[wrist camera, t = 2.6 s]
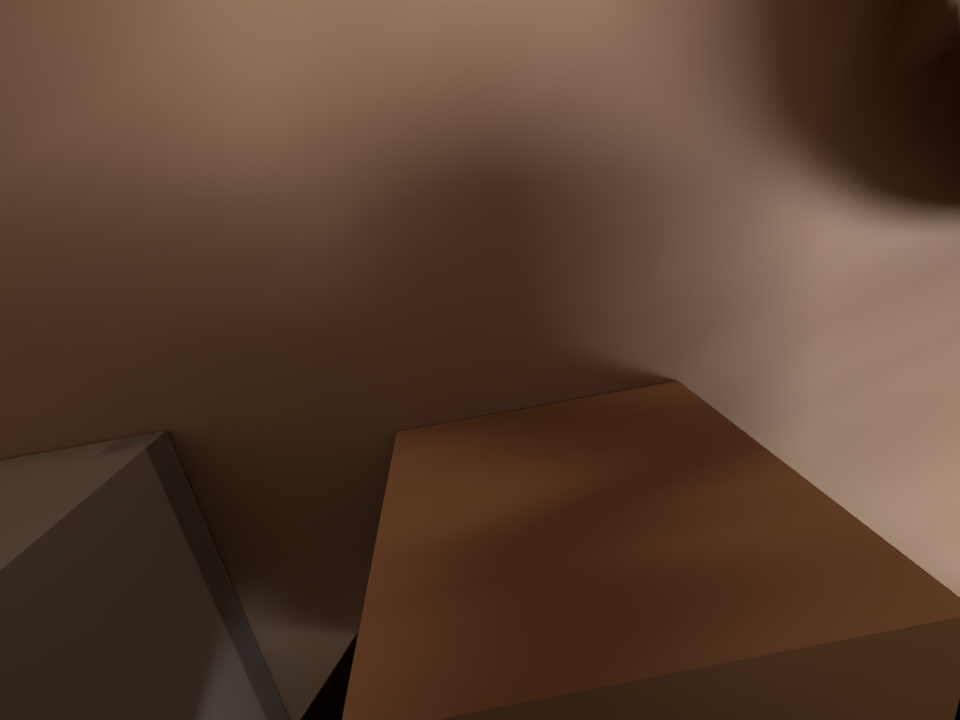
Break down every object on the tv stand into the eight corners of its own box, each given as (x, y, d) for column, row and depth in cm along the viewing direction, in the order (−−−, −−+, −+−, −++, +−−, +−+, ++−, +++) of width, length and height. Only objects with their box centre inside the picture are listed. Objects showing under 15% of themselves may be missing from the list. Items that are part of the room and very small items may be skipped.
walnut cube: (677, 380, 8) (979, 613, 4) (683, 599, 10) (898, 953, 5) (396, 432, 8) (337, 737, 4) (448, 643, 10) (456, 1048, 5)
